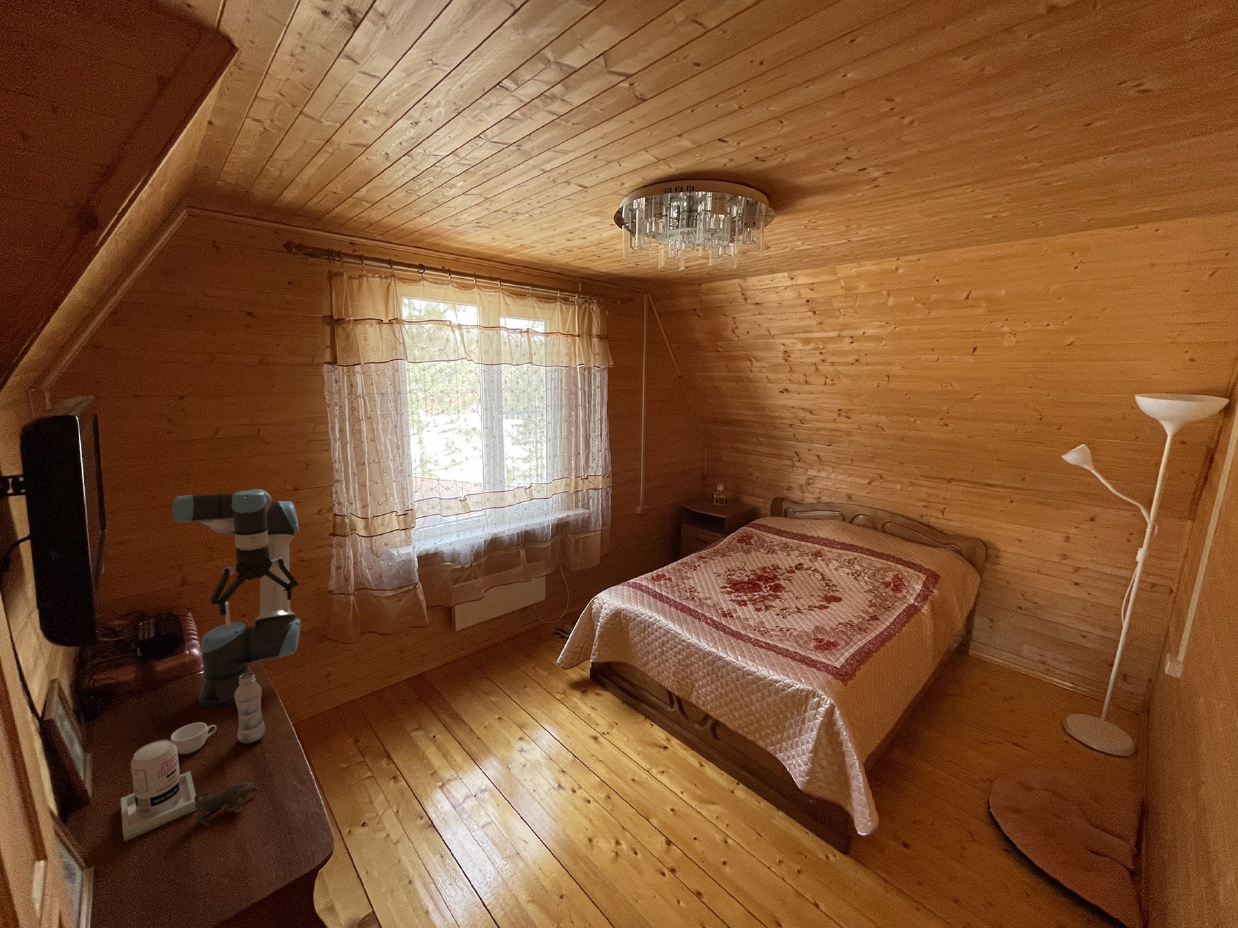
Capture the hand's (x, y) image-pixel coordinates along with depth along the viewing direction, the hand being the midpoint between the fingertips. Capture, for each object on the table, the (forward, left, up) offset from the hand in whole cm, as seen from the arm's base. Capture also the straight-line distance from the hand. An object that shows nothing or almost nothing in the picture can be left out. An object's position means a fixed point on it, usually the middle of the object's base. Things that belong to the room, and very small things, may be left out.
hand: (257, 617), depth 146 cm
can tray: (+14, -25, -37) cm, 46 cm away
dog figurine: (+26, -13, -37) cm, 47 cm away
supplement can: (+14, -25, -36) cm, 46 cm away
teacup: (-7, -16, -37) cm, 41 cm away
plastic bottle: (0, -4, -37) cm, 37 cm away
